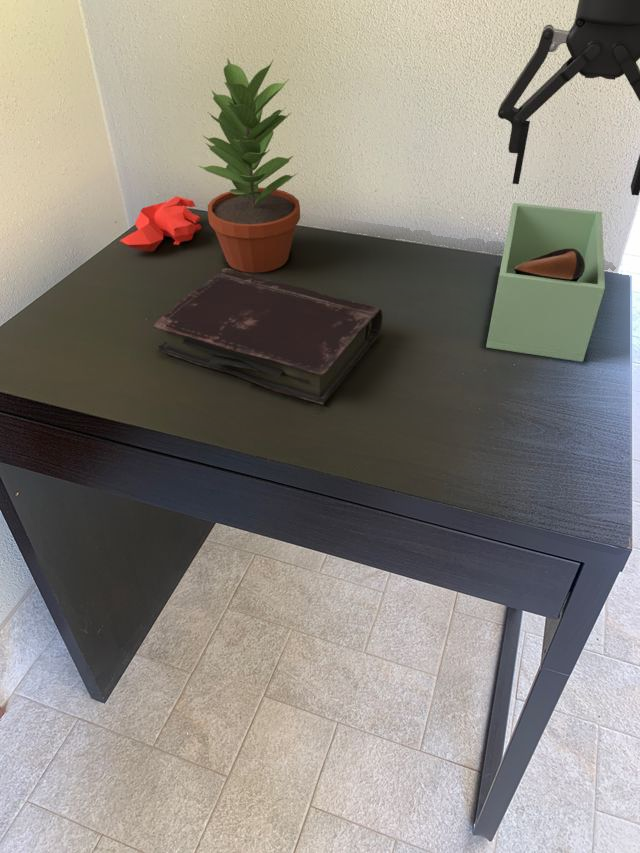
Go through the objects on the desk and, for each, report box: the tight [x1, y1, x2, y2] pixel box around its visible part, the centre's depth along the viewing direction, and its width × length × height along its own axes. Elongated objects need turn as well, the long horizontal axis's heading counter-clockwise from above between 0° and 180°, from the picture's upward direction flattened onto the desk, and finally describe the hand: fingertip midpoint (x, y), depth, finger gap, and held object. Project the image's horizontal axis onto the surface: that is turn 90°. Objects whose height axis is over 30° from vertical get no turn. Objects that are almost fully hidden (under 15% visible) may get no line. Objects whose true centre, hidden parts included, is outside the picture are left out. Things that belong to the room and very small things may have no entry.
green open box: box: [485, 202, 606, 363], centre depth 96 cm, size 23×13×11 cm, turn 164°
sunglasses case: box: [514, 248, 585, 282], centre depth 92 cm, size 18×7×7 cm
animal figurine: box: [119, 196, 202, 252], centre depth 116 cm, size 12×15×5 cm
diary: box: [152, 267, 383, 406], centre depth 92 cm, size 19×25×5 cm
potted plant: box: [198, 57, 301, 274], centre depth 102 cm, size 15×15×30 cm
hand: (574, 185), depth 82 cm, fingers open, 13 cm apart
